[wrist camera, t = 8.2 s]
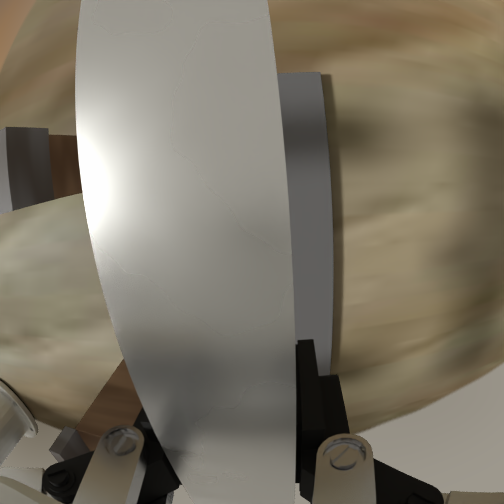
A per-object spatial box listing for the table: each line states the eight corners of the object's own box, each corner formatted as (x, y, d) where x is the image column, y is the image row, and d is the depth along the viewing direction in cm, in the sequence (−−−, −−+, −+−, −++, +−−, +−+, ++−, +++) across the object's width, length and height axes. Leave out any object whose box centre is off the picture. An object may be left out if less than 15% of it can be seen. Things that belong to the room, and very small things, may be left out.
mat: (326, 402, 24) (327, 406, 24) (216, 405, 25) (214, 409, 24) (318, 74, 17) (320, 71, 16) (169, 91, 18) (166, 89, 17)
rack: (187, 380, 24) (141, 498, 13) (129, 376, 25) (69, 475, 13) (143, 137, 19) (5, 127, 7) (79, 154, 19) (-56, 167, 8)
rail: (292, 524, 12) (290, 564, 9) (242, 524, 12) (236, 562, 9) (261, -24, 5) (249, -98, 2) (147, -2, 5) (92, -55, 3)
